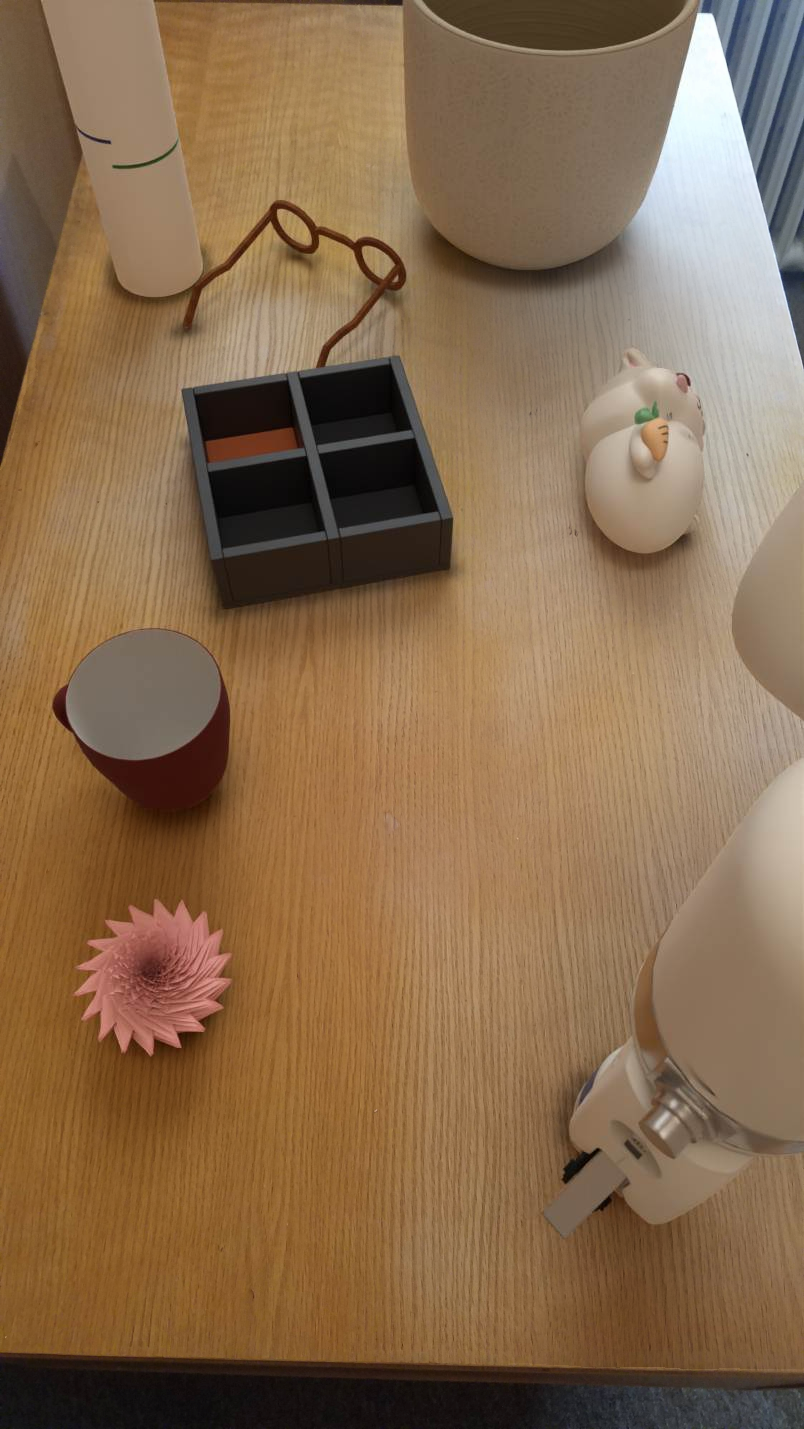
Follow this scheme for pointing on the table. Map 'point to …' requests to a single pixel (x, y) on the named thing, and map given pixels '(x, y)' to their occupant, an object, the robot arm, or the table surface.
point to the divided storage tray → (316, 481)
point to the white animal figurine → (644, 455)
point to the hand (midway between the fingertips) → (645, 1109)
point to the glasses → (309, 249)
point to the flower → (155, 977)
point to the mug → (151, 716)
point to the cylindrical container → (129, 139)
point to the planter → (539, 119)
